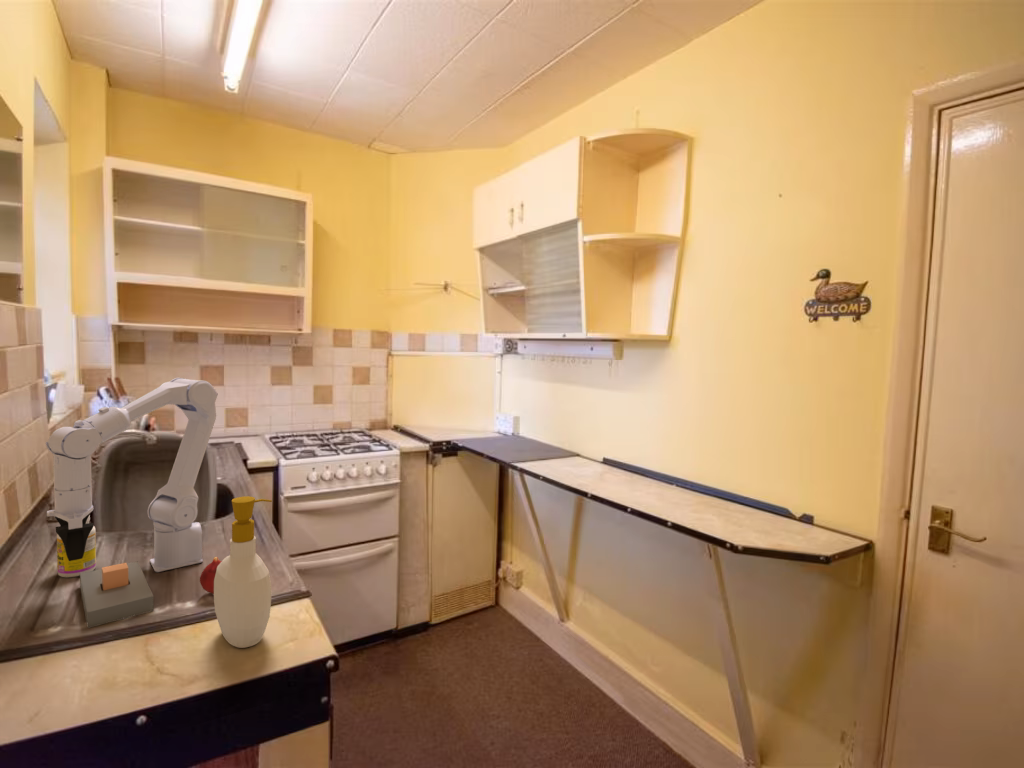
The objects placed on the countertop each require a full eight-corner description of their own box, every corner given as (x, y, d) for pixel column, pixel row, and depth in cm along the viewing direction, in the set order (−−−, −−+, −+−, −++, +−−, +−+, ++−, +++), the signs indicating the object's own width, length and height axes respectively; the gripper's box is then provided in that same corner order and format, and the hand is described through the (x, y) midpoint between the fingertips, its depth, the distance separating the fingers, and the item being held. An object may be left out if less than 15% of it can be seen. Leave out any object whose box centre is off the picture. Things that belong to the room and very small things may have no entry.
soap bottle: (286, 643, 92) (288, 502, 90) (233, 664, 86) (234, 513, 84) (254, 612, 102) (255, 484, 100) (204, 629, 95) (204, 493, 93)
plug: (126, 590, 107) (126, 562, 107) (128, 595, 105) (128, 567, 104) (102, 595, 104) (101, 567, 104) (103, 601, 102) (103, 572, 102)
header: (137, 574, 115) (137, 561, 115) (153, 610, 101) (153, 595, 101) (80, 586, 108) (79, 573, 108) (87, 628, 94) (87, 612, 94)
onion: (237, 591, 110) (238, 555, 109) (212, 603, 105) (212, 565, 104) (219, 585, 112) (219, 549, 112) (193, 596, 107) (193, 559, 106)
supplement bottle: (58, 569, 115) (57, 514, 114) (96, 563, 120) (95, 509, 119) (56, 581, 110) (55, 523, 109) (96, 573, 114) (95, 518, 113)
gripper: (46, 481, 105) (47, 545, 106) (46, 499, 94) (48, 571, 95) (90, 476, 109) (91, 538, 110) (95, 493, 99) (96, 561, 100)
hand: (74, 552), depth 103 cm, fingers open, 7 cm apart
